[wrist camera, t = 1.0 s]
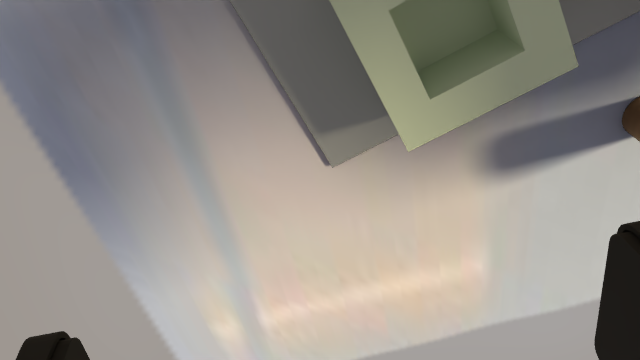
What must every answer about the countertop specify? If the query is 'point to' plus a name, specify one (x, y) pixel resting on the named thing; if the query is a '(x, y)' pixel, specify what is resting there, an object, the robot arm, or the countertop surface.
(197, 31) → the countertop surface
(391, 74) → the socket block
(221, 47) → the countertop surface
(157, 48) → the countertop surface
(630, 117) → the dowel
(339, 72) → the grey l-shaped plate
